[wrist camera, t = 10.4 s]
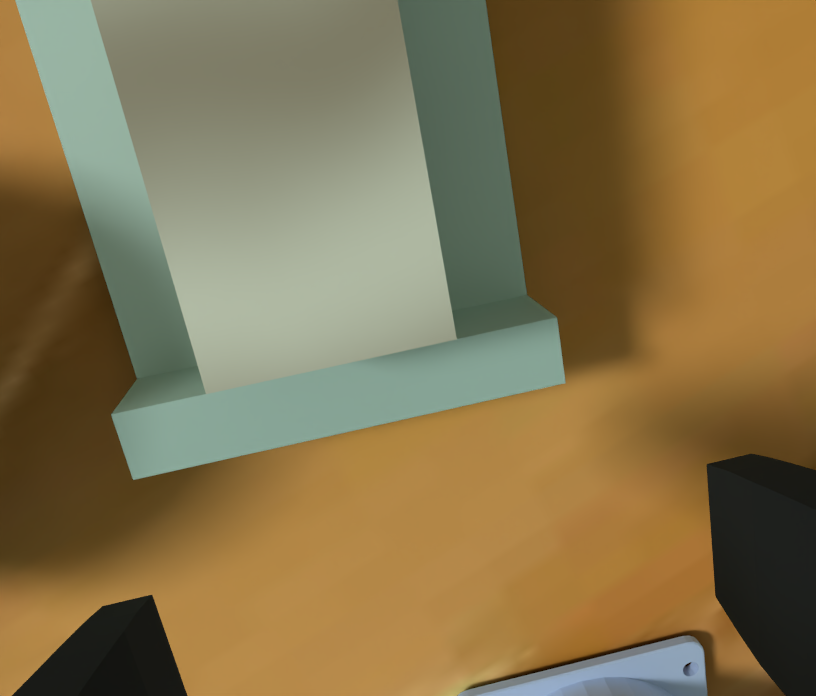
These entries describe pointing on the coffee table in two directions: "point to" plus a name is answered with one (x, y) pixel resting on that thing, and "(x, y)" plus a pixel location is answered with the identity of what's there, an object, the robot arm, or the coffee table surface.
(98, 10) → the shelf block
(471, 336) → the peg frame
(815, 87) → the coffee table surface
